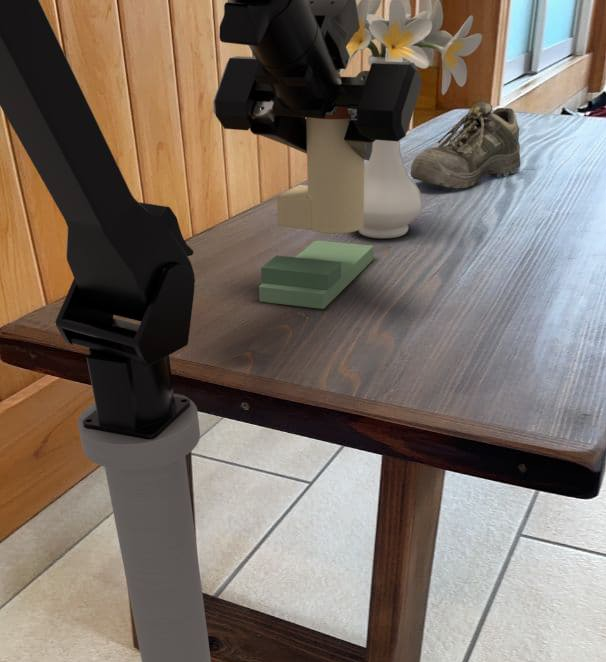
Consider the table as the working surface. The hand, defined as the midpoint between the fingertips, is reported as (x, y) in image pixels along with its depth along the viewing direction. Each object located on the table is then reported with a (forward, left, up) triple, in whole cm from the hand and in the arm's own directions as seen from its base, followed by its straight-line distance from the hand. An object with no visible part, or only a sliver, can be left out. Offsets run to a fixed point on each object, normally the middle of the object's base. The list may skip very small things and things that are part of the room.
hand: (341, 153), depth 84 cm
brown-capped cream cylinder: (-1, +1, -7) cm, 7 cm away
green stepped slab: (-1, +2, -13) cm, 13 cm away
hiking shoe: (+46, -3, -13) cm, 48 cm away
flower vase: (+18, 0, -13) cm, 22 cm away
